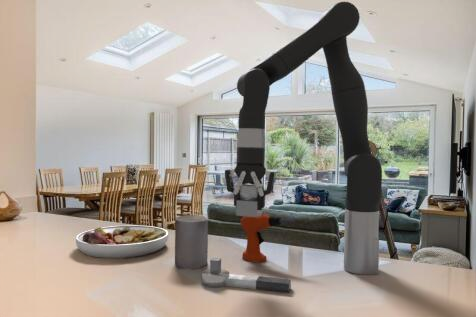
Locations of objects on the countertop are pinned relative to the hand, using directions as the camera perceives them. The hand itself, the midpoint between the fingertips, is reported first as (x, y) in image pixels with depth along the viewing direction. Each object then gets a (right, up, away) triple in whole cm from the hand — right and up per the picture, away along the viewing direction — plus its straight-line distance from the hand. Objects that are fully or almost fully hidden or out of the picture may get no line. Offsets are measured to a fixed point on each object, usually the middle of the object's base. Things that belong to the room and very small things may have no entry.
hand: (249, 208), depth 105 cm
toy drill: (+6, -18, +14) cm, 24 cm away
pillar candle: (-17, -18, +11) cm, 27 cm away
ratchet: (-1, -18, -7) cm, 20 cm away
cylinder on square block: (0, -1, 0) cm, 2 cm away
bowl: (-42, -17, +28) cm, 54 cm away
